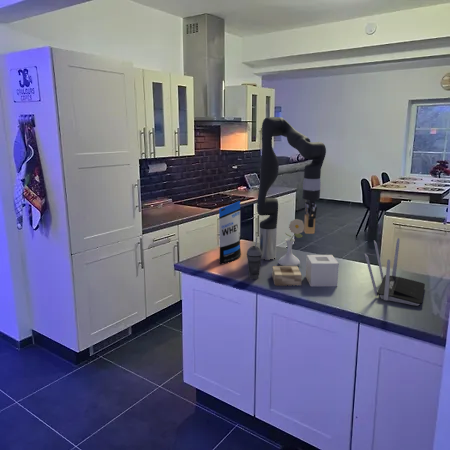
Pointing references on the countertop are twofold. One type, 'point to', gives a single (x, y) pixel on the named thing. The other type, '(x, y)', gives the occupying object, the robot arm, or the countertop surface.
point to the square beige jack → (286, 275)
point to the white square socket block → (322, 270)
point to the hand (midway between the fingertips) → (309, 225)
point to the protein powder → (229, 232)
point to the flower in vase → (289, 258)
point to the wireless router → (396, 283)
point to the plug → (308, 229)
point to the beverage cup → (254, 261)
